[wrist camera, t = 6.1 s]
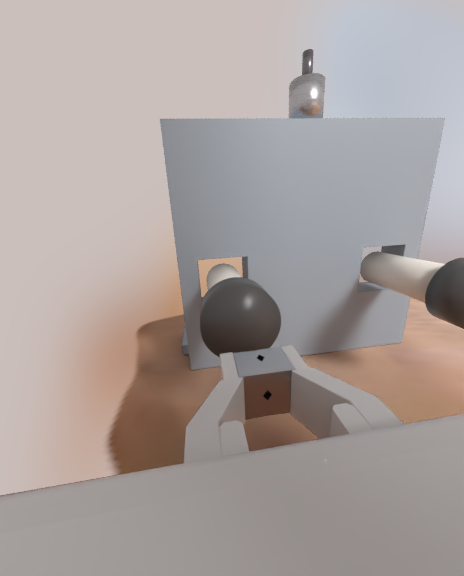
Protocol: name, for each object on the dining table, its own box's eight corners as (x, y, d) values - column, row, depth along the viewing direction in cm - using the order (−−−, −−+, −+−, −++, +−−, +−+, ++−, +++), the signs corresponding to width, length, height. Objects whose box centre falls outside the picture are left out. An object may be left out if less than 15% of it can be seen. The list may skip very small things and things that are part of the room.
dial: (329, 120, 19) (334, 42, 17) (299, 118, 18) (302, 37, 17) (309, 131, 21) (312, 65, 20) (282, 130, 21) (283, 61, 19)
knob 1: (280, 356, 14) (281, 282, 12) (203, 366, 13) (196, 290, 12) (247, 299, 23) (245, 254, 22) (201, 304, 23) (197, 258, 21)
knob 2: (506, 326, 16) (528, 260, 14) (447, 334, 15) (464, 266, 14) (390, 285, 25) (397, 243, 24) (351, 289, 25) (356, 246, 23)
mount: (409, 341, 27) (455, 117, 20) (181, 371, 23) (146, 118, 17) (362, 314, 34) (384, 145, 28) (185, 333, 31) (162, 149, 24)
